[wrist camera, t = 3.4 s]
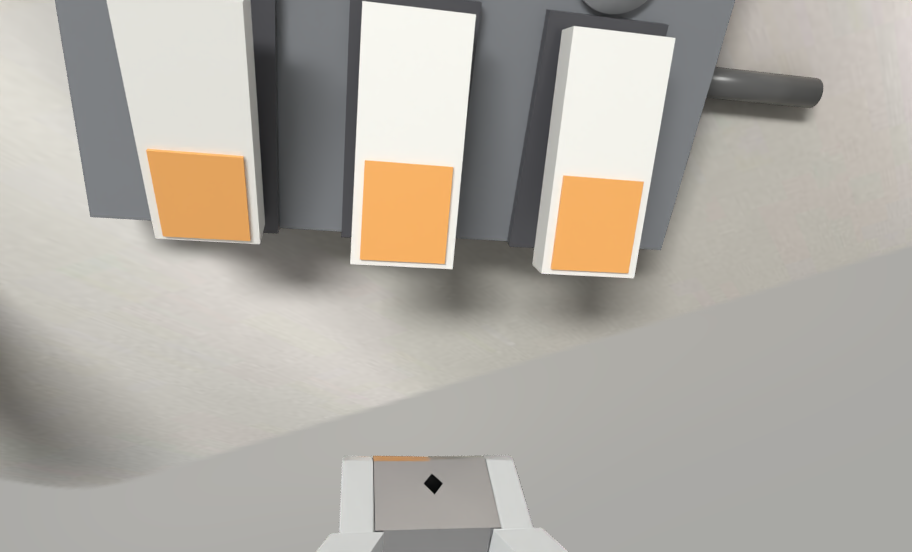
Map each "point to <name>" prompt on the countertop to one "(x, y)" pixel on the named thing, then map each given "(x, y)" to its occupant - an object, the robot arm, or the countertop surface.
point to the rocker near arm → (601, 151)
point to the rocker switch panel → (488, 113)
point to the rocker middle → (410, 134)
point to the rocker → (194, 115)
